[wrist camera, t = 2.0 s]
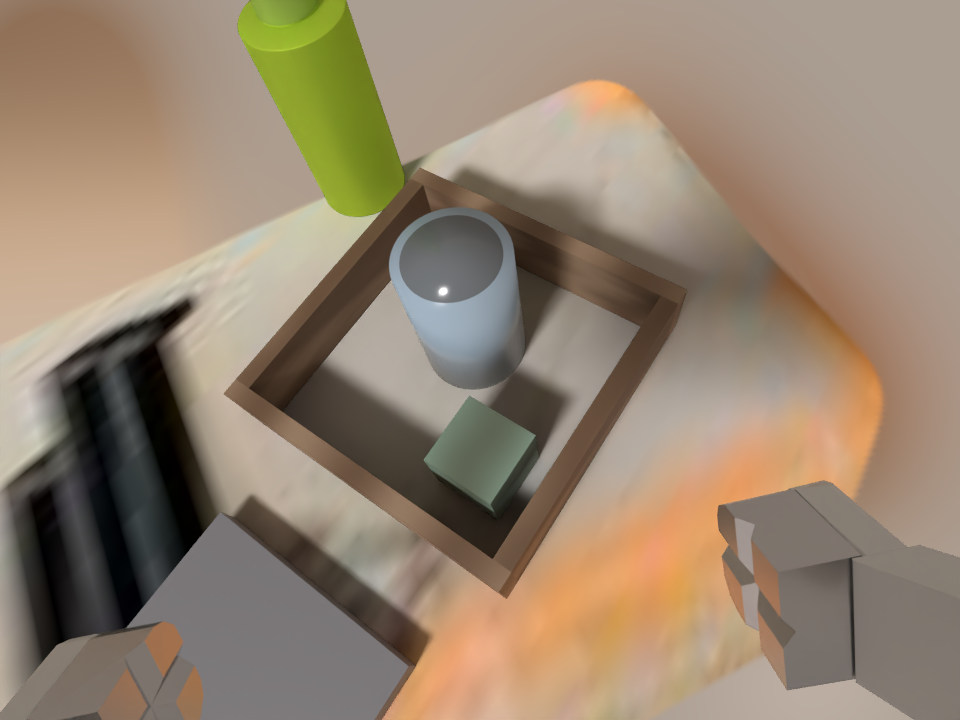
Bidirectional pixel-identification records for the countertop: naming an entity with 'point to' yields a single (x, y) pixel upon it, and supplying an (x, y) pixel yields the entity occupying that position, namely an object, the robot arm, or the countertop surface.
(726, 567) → the robot arm
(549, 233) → the crate
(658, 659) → the countertop surface
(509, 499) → the block
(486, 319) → the cup
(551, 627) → the countertop surface
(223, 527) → the board
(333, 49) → the soap dispenser
